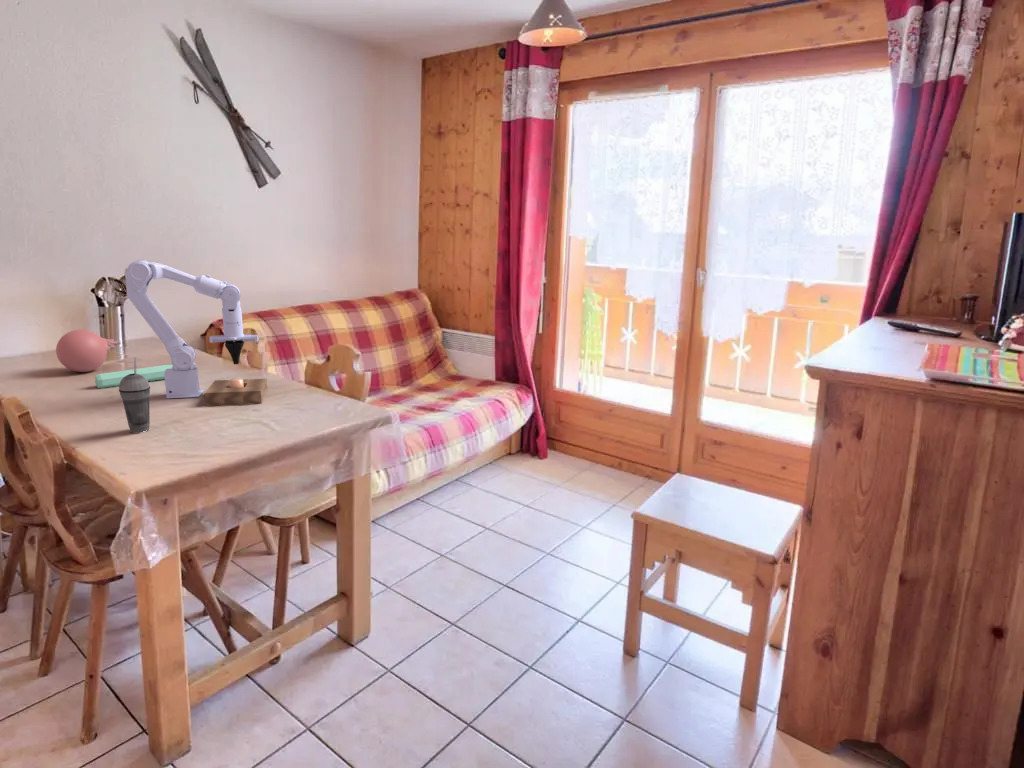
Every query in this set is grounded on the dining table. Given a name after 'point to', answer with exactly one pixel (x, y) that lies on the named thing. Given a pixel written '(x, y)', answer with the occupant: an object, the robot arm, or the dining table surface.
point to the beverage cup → (136, 400)
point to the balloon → (83, 350)
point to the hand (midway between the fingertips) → (236, 363)
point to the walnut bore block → (236, 392)
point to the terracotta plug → (236, 383)
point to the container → (116, 377)
